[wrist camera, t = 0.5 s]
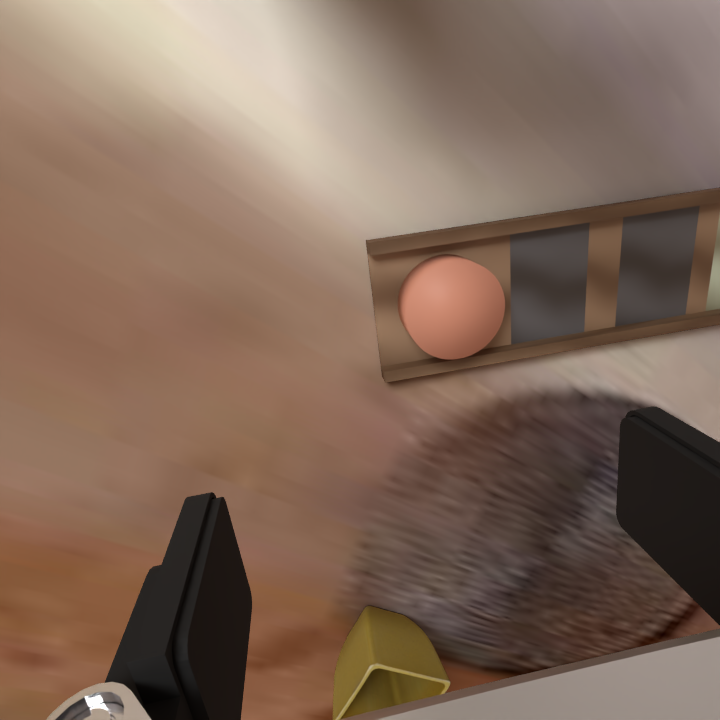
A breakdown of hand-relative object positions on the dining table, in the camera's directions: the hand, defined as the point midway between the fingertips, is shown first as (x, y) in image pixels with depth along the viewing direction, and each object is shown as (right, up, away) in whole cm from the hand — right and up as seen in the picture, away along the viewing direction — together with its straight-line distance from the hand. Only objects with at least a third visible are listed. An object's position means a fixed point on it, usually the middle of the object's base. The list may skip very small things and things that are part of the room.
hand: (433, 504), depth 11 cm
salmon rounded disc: (+6, +8, +30) cm, 32 cm away
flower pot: (0, -26, +43) cm, 50 cm away
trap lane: (+21, +11, +31) cm, 40 cm away
